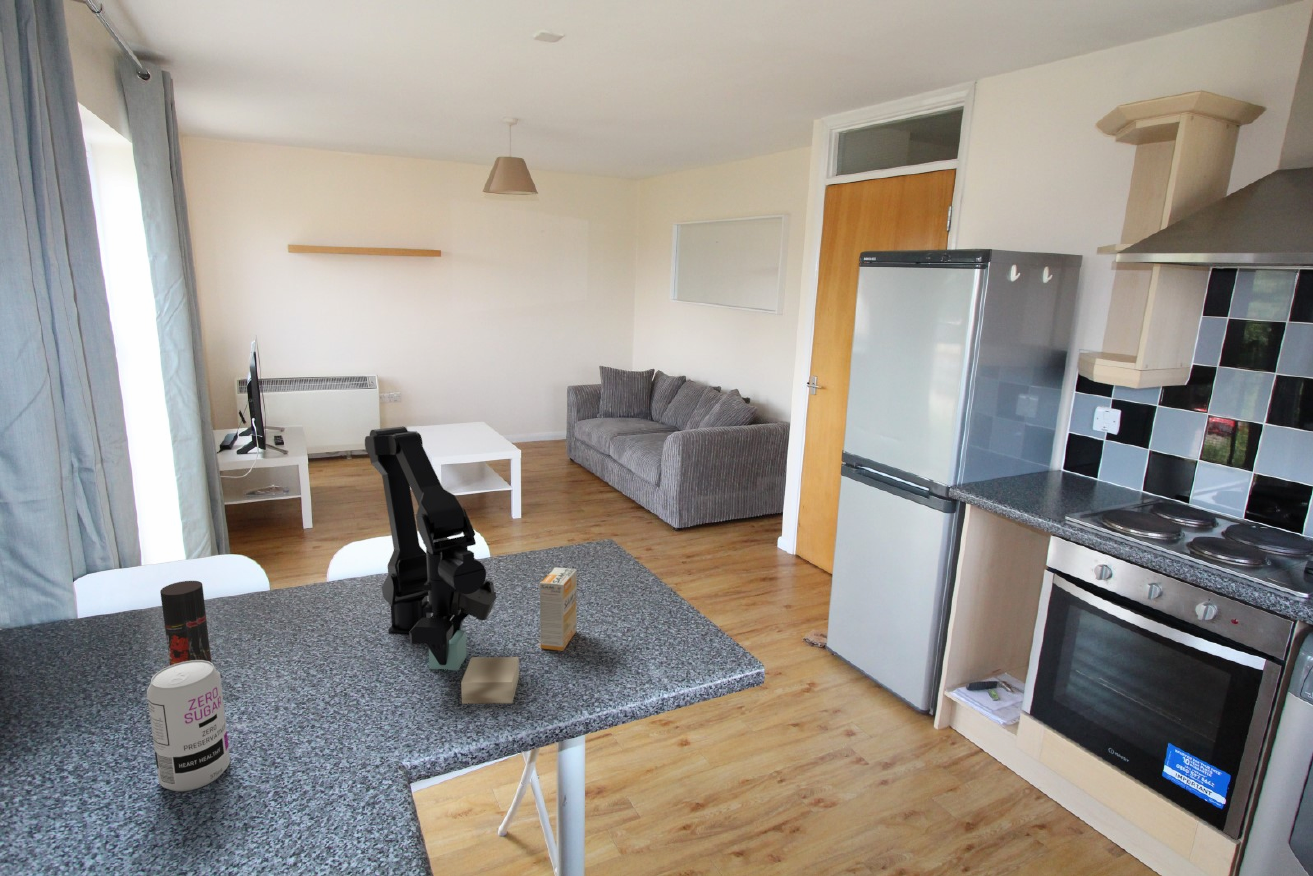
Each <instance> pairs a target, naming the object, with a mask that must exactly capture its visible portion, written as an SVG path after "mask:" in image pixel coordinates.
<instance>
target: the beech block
mask: <svg viewBox="0 0 1313 876" xmlns="http://www.w3.org/2000/svg"><path fill="white" fill-rule="evenodd" d="M519 659H520V657H519V656H495V657H494V656H485V657H484V656H482V657H481V656H478V657H477V656H475V657H473V656H472V657H471V658H470V660H469V662H468V665H467V667H466V669H465V672H464V675H463V676H462V677H463V678H462V679H461V682H460V684H461V685H460V686H461V704H463V705H465V704H468V703H469V704H513V701H514V698H515V694H516V691H517V686H518V682H519V679H520V660H519Z"/></svg>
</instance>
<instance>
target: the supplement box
mask: <svg viewBox="0 0 1313 876" xmlns="http://www.w3.org/2000/svg"><path fill="white" fill-rule="evenodd" d="M577 575H578V570H577V569H575V568H568V567H567V568H566V567H554V568H552V570H551V571H550V572H549V573H548V574H546V576H545V577H544V578H543V579H542V580H541V581H540V582H539V622H540V623H539V625H540V627H539V628H540V629H539V630H540V631H539V633H540V634H539V635H540V642H539V643H540V645H539V646H540V649H544V650H552V651H553V650H554V651H559V652H560V651H561V652H562V651H565V649H566V647H567V645H568V644H569V643H570V641H571V639H573V637H574V635H575V634H576V633H577V627H578V626H577V619H578V617H577V614H578V613H577V611H578V610H577V606H578V605H577V603H578V602H577V601H578V600H577V598H578V597H577V591H578V590H577V589H578V587H577V583H578V582H577V580H578V579H577V577H578V576H577Z"/></svg>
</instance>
